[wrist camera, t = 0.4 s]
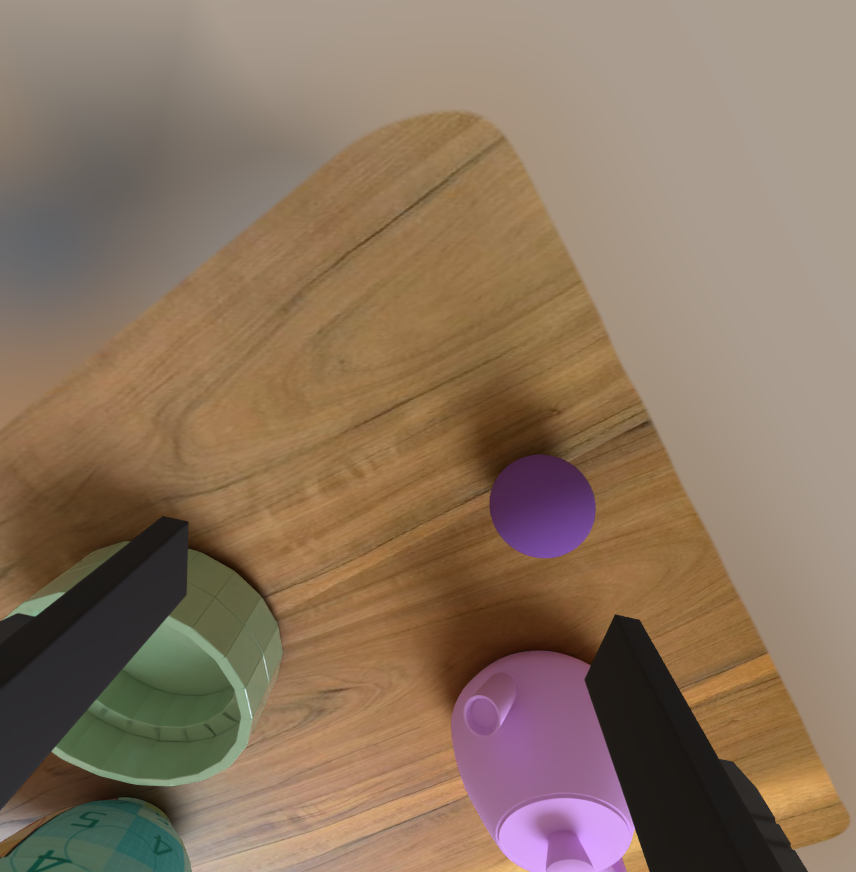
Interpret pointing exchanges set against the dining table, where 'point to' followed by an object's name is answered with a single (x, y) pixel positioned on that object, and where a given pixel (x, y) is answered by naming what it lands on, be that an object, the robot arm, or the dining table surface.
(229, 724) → the green bowl
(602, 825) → the teapot
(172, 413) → the dining table surface
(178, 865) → the bowl
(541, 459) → the ball
